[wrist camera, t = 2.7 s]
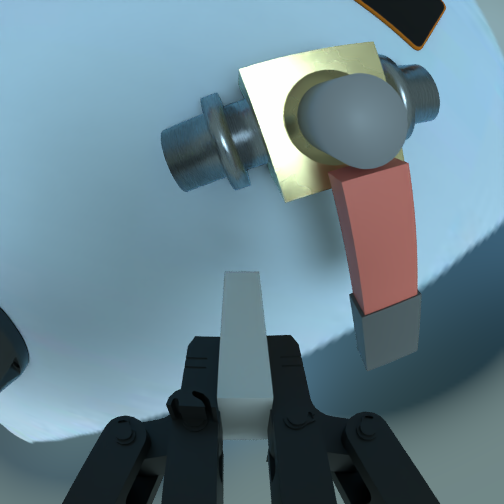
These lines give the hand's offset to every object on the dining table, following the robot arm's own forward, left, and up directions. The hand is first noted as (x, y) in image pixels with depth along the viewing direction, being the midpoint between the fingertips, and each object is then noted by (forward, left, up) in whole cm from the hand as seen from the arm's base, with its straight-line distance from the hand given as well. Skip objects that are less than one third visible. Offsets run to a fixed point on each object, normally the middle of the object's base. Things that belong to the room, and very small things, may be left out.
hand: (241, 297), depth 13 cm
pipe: (+7, +6, -10) cm, 13 cm away
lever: (+7, 0, -3) cm, 7 cm away
